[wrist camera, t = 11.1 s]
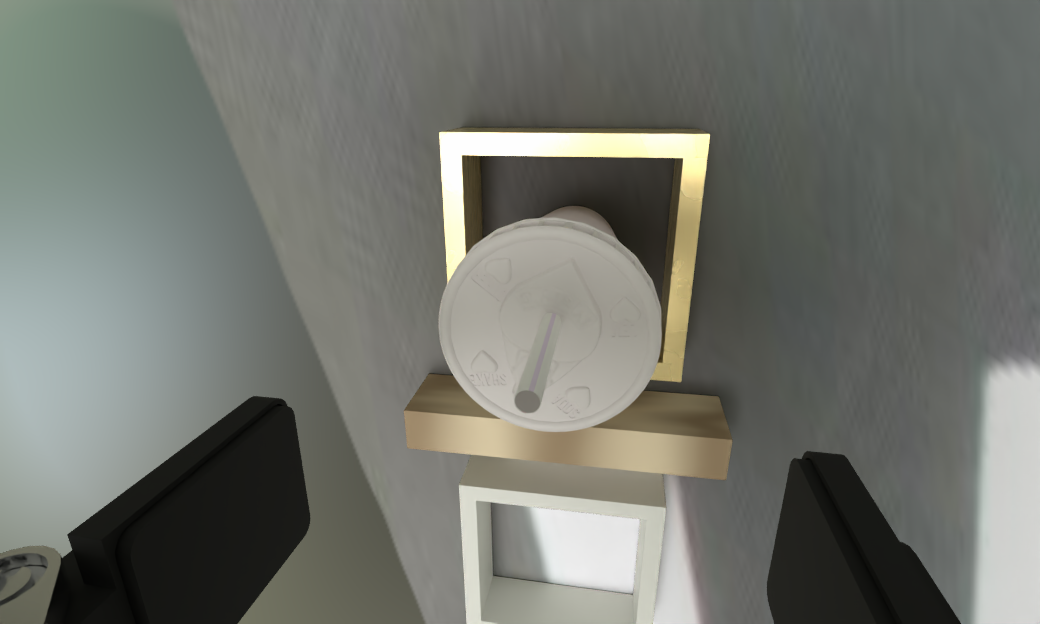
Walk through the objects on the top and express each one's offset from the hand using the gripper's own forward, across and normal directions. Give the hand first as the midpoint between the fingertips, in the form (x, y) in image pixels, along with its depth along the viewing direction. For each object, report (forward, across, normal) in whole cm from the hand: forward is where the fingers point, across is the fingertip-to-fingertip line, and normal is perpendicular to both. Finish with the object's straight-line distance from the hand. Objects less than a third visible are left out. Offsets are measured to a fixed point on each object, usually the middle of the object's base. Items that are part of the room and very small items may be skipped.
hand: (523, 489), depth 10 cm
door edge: (+16, +1, +7) cm, 17 cm away
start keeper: (+16, +1, +15) cm, 22 cm away
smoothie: (+16, +1, -1) cm, 16 cm away
